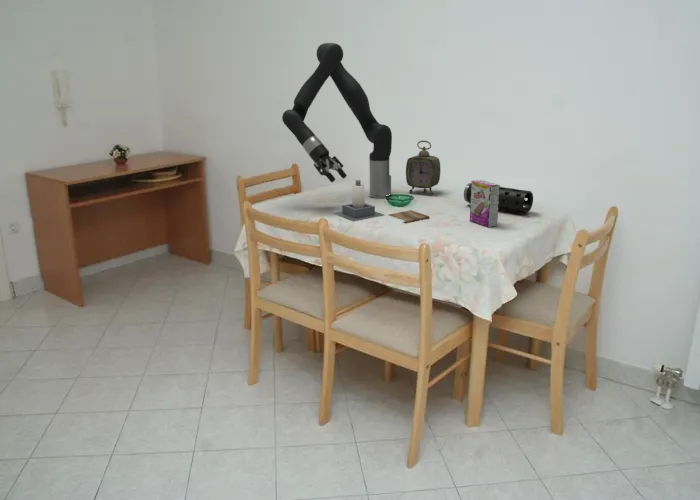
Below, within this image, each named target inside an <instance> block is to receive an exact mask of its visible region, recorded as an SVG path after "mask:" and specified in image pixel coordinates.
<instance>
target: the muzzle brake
mask: <svg viewBox="0 0 700 500" xmlns="http://www.w3.org/2000/svg"><path fill="white" fill-rule="evenodd" d="M463 191H464V192H463V199H464V201H465V202H466V203H469V204H470V203H471V182H468V183H467V184H466V186H465V187H464V190H463ZM533 203H534V194H533V192H532V191H531V190H526V189H518V188H511V187H503V186H500V188H499V205H498V211H504V212H508V213H513V214H519V215H523V216H524V215H527V214H528V213H529V212H530V210H531V209H532V207H533Z"/></svg>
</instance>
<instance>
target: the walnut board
mask: <svg viewBox="0 0 700 500" xmlns="http://www.w3.org/2000/svg"><path fill="white" fill-rule="evenodd" d="M388 216H391V217H393V218H395V219H398V220H400V221H401V220H402V223H403V224H410V223H415V221H416V222H420V220H421V221H425V220H429V219H430V215H427V214H423V213H421V212H417V211H414V210H405V211H399V212H394V213H389V214H388Z"/></svg>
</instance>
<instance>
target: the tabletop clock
mask: <svg viewBox="0 0 700 500" xmlns="http://www.w3.org/2000/svg"><path fill="white" fill-rule="evenodd" d="M420 143H427V144H428V145H429V147H427V148H426V146H423V147H420V146H419V144H420ZM431 147H432V144H431V142H430V141H428V140H420V141H418V142H417V148H418V149H420V151H419V152H418V155H415V156H412V157H409V158H407V160H406V165H405V179H406V183H407V185H408V186H409V187H411V189H409V190H408V193H409V194H413V190H414V189H415V188H416V189H422V190H423V191H422V192H423V193H427V190H428V189H429V195H430V196H431V197H432V196H433V195H434V193H433V191H432V188H433V187H435V186H438V184H439V182H440V179H441V162H440V161H441V160H440V159H439V157H437V156H435V155H430V152H429V151H428V150H430V149H431Z"/></svg>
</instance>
